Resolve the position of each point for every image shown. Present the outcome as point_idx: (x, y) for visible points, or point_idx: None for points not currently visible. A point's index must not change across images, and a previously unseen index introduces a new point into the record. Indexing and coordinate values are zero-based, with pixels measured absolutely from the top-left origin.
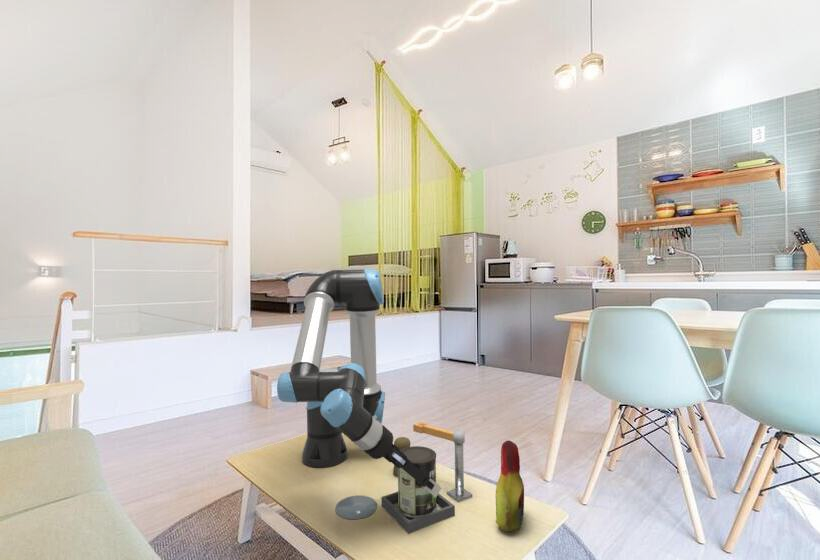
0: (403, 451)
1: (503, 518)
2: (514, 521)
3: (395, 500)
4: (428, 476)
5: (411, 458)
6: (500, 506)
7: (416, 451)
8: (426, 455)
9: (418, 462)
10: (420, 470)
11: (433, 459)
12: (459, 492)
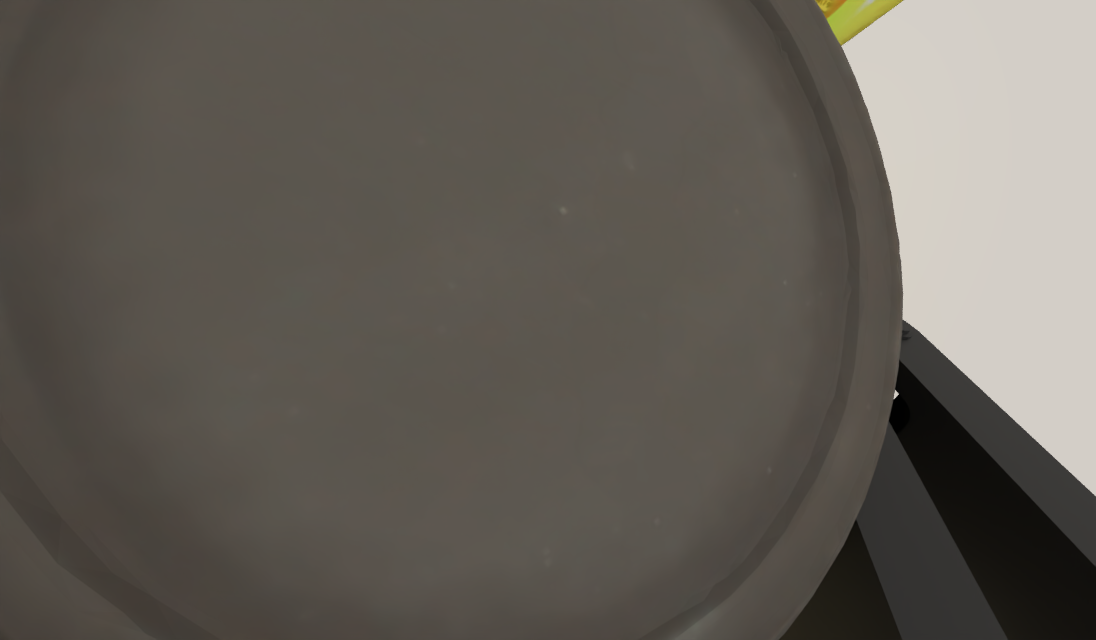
0: (63, 485)
1: None
2: None
3: None
4: (908, 332)
5: (674, 430)
6: (866, 19)
7: (347, 99)
8: (678, 54)
9: (884, 378)
10: (1040, 455)
11: (835, 62)
12: None
